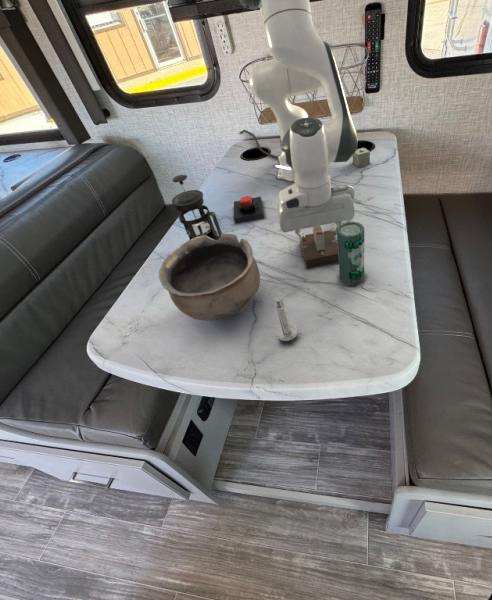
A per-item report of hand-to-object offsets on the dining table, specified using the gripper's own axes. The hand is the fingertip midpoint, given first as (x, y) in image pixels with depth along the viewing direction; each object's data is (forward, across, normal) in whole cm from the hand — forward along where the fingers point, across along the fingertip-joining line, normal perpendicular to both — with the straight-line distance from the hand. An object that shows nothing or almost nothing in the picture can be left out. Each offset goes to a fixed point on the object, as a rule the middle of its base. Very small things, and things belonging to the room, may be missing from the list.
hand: (318, 237), depth 94 cm
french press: (+6, +34, -15) cm, 38 cm away
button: (+2, +20, -31) cm, 37 cm away
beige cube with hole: (+5, -27, -53) cm, 60 cm away
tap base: (+5, 0, 0) cm, 5 cm away
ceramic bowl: (+6, +28, +14) cm, 32 cm away
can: (+6, -6, +13) cm, 15 cm away
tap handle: (+2, 0, 0) cm, 2 cm away
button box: (+5, +20, -31) cm, 37 cm away
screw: (+6, +13, +29) cm, 32 cm away
